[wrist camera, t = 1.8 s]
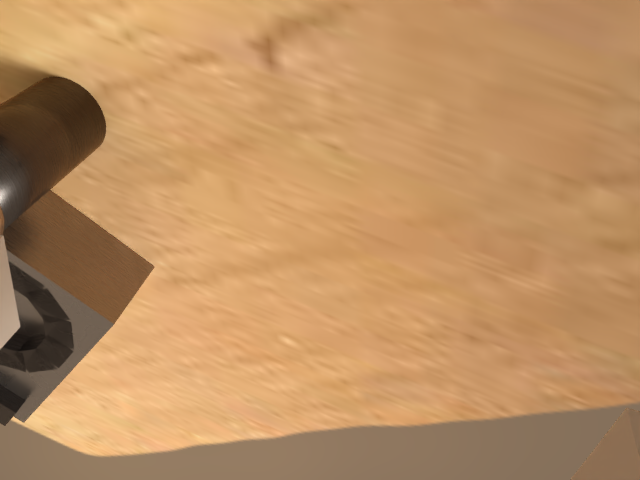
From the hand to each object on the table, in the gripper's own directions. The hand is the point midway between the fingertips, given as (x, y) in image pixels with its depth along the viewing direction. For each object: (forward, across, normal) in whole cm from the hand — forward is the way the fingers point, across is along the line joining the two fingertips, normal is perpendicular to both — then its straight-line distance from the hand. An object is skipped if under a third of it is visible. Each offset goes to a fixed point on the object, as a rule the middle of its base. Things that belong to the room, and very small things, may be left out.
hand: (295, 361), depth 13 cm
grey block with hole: (+22, -22, -23) cm, 38 cm away
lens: (+22, -18, -9) cm, 30 cm away
